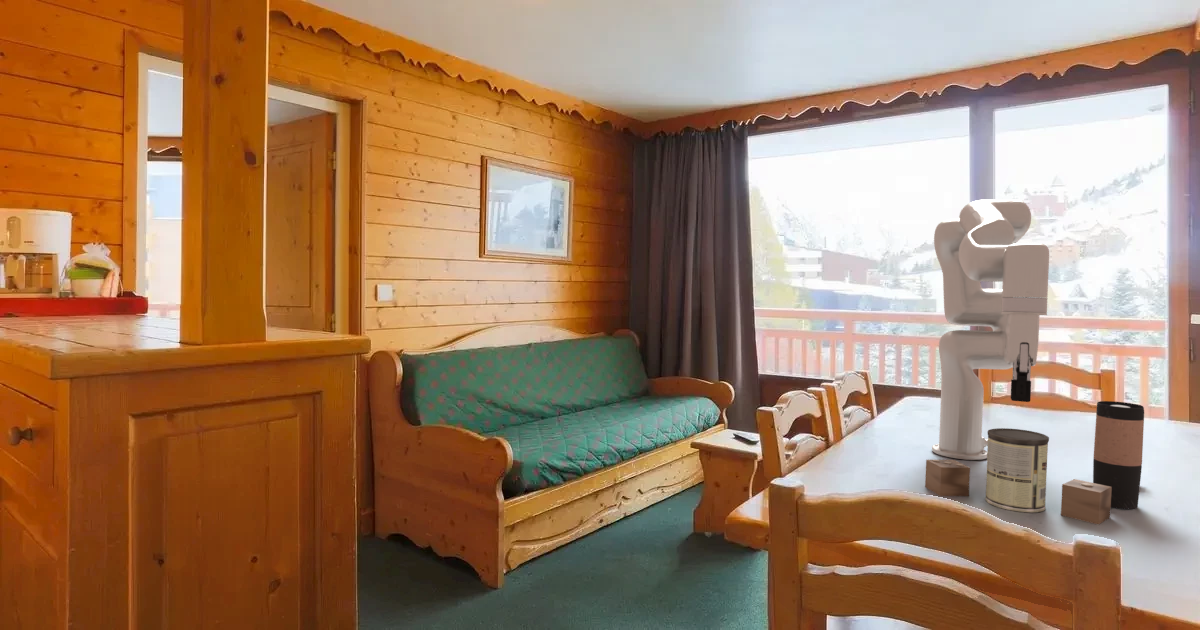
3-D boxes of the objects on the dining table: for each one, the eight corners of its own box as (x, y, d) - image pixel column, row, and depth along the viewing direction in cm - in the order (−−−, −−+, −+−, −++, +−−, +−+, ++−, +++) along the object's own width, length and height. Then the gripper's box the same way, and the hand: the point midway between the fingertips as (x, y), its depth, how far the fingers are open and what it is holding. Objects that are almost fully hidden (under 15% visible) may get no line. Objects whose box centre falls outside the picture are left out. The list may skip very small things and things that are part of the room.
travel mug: (1081, 497, 138) (1086, 400, 137) (1116, 497, 138) (1121, 400, 137) (1113, 510, 130) (1118, 408, 129) (1149, 510, 131) (1155, 408, 130)
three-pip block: (952, 487, 144) (953, 458, 144) (968, 496, 138) (970, 466, 138) (925, 487, 144) (926, 458, 144) (940, 496, 138) (941, 466, 138)
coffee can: (982, 492, 140) (985, 425, 139) (1040, 500, 136) (1044, 431, 135) (987, 507, 131) (990, 436, 130) (1050, 516, 127) (1053, 442, 126)
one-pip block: (1072, 509, 131) (1074, 478, 131) (1109, 518, 126) (1111, 485, 126) (1060, 515, 127) (1062, 483, 127) (1098, 525, 123) (1100, 491, 122)
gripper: (999, 306, 139) (996, 394, 140) (1003, 307, 126) (999, 404, 127) (1043, 307, 136) (1039, 397, 137) (1051, 308, 123) (1047, 408, 123)
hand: (1020, 400), depth 132 cm, fingers closed
